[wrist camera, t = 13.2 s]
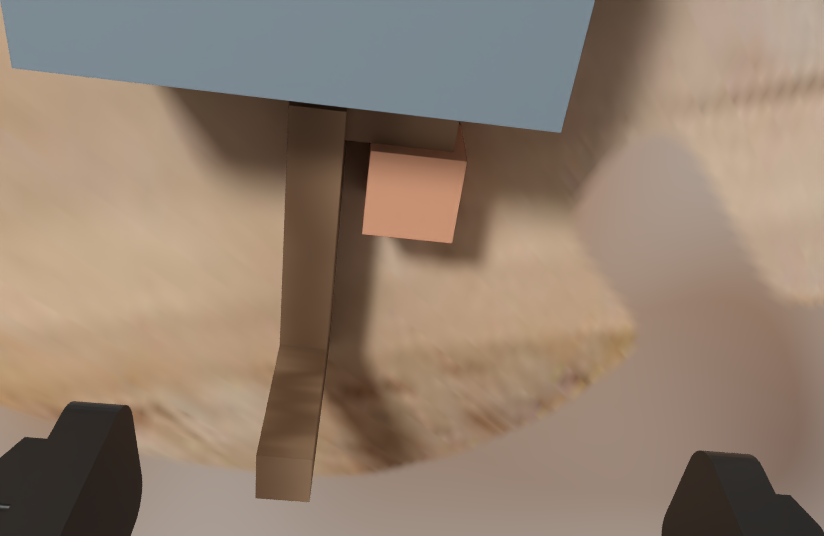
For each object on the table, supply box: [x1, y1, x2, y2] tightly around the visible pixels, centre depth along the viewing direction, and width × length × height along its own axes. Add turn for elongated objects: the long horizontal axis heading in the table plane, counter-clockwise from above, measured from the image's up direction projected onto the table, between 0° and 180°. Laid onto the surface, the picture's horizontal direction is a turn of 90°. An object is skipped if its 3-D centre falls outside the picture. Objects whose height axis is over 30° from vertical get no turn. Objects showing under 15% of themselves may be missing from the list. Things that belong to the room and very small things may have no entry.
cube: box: [362, 124, 467, 243], centre depth 38 cm, size 4×4×4 cm
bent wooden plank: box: [256, 101, 459, 502], centre depth 37 cm, size 8×17×12 cm, turn 173°
